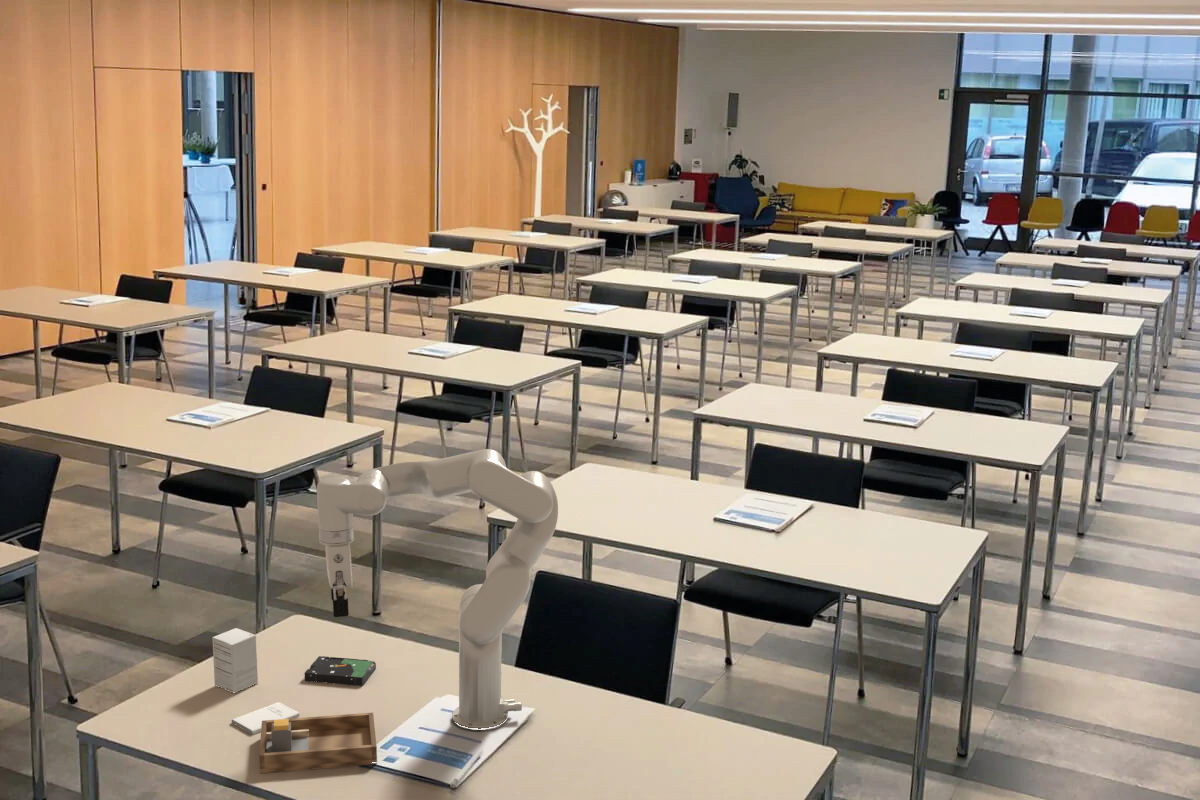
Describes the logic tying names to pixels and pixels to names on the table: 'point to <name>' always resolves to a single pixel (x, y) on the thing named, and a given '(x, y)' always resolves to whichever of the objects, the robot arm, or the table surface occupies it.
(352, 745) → the crate
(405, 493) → the robot arm
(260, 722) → the external hard drive
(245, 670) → the supplement box
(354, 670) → the disk drive
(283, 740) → the block
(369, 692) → the table surface
